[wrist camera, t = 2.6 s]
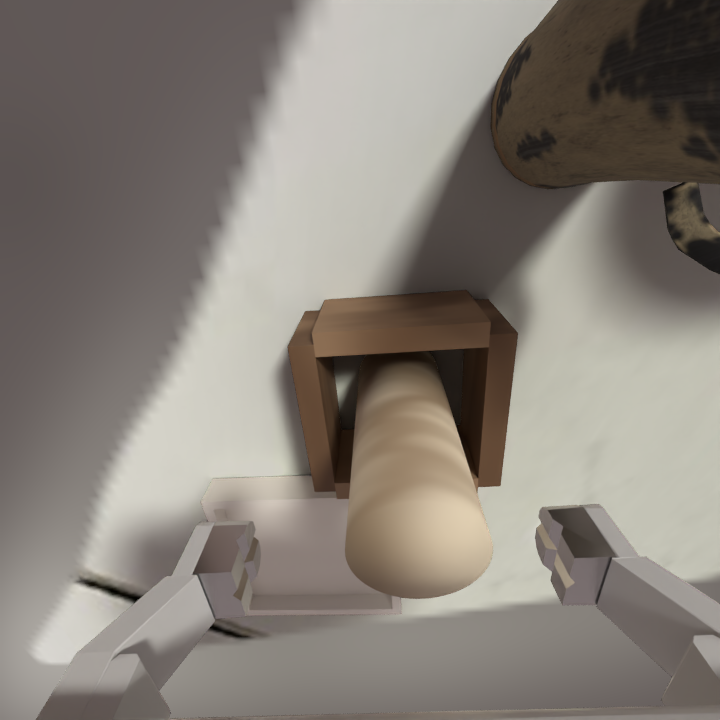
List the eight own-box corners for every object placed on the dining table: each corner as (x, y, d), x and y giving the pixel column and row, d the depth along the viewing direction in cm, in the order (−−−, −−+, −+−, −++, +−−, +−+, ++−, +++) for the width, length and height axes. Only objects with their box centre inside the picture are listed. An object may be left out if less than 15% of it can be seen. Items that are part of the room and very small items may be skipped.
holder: (489, 288, 17) (519, 320, 13) (478, 438, 21) (499, 494, 17) (303, 301, 18) (285, 334, 14) (326, 444, 21) (316, 499, 18)
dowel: (438, 337, 18) (499, 498, 9) (437, 406, 20) (487, 597, 11) (355, 342, 18) (337, 503, 9) (362, 409, 20) (351, 599, 11)
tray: (393, 472, 22) (395, 495, 20) (400, 587, 27) (401, 614, 25) (212, 478, 23) (200, 502, 21) (251, 589, 28) (243, 615, 26)
